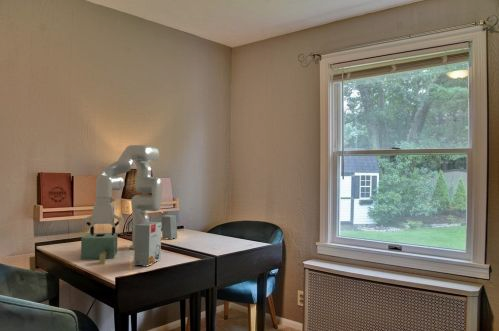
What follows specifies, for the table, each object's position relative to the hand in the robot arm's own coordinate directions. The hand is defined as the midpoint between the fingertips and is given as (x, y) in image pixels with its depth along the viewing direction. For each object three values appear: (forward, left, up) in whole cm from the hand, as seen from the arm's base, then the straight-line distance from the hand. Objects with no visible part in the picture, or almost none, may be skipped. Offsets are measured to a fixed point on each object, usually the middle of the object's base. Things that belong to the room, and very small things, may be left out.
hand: (102, 235), depth 198 cm
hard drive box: (-22, +4, -14) cm, 27 cm away
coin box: (+4, -17, -14) cm, 23 cm away
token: (0, 0, -14) cm, 14 cm away
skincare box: (-33, -66, -14) cm, 76 cm away
